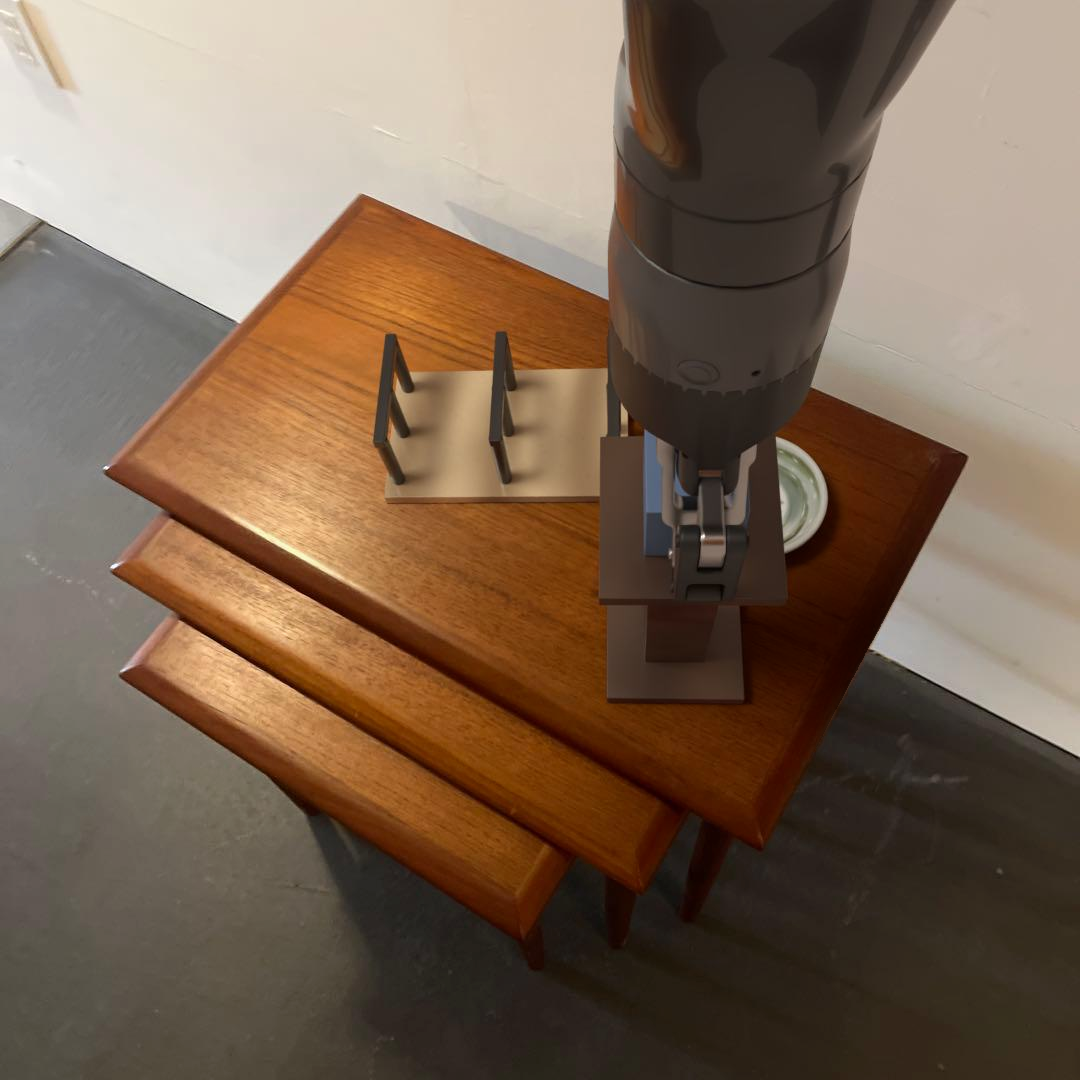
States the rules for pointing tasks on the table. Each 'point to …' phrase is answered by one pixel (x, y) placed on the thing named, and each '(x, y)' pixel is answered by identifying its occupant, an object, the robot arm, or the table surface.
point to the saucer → (799, 494)
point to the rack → (494, 431)
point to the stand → (648, 606)
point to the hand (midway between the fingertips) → (691, 505)
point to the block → (654, 527)
